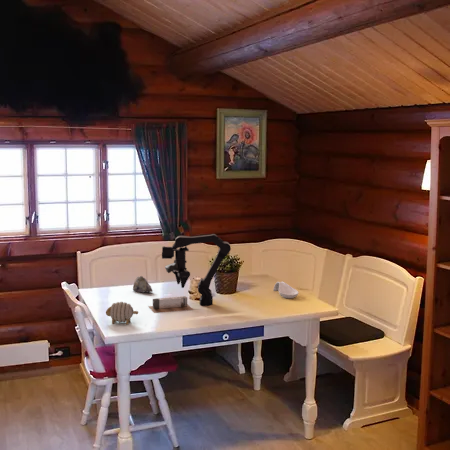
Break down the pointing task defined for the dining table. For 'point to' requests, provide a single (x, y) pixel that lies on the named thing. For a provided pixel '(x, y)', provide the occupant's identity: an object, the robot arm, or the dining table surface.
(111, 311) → the toy sheep
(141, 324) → the dining table surface
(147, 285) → the mineral rock
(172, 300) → the tongs arm
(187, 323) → the dining table surface
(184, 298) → the frame
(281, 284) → the spoon rest
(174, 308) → the board
